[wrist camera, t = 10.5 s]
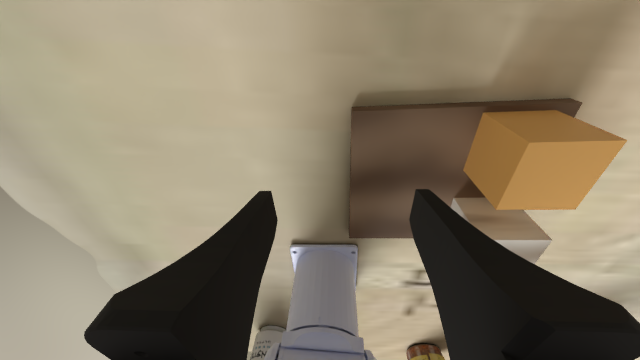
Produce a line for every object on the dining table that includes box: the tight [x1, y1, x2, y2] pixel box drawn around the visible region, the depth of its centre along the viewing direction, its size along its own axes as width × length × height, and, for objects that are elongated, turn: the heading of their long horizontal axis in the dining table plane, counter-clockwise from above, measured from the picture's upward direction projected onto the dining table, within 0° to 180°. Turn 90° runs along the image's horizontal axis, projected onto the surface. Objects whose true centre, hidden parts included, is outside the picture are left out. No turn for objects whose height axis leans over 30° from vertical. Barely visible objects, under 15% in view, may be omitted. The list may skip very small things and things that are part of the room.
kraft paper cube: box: [463, 110, 627, 210], centre depth 16 cm, size 5×5×5 cm
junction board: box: [349, 99, 582, 264], centre depth 19 cm, size 14×16×6 cm
